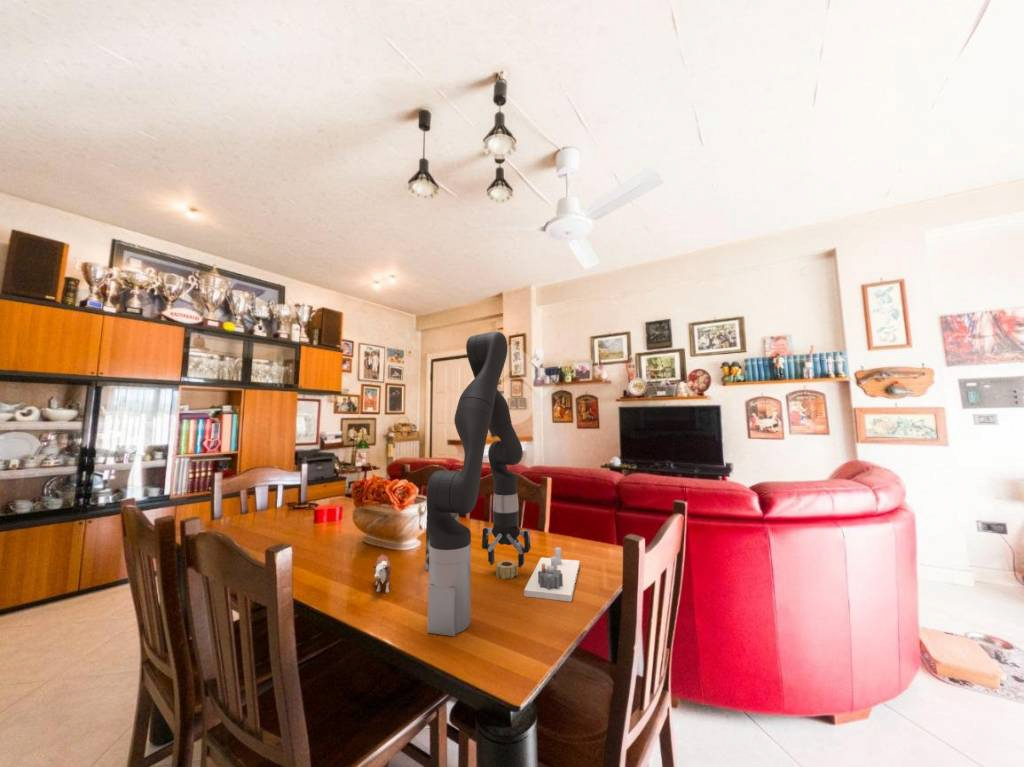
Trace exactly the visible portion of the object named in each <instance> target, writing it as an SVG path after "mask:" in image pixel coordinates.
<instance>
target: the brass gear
mask: <svg viewBox="0 0 1024 767" xmlns="http://www.w3.org/2000/svg"><path fill="white" fill-rule="evenodd" d="M517 562H518V561H512V560H511V559H507V560H500V561H499V562H495V575H496V578H501V579H502V580H506V578H507V579H511V580H512V578H513V579H514V578H515V577H518V576H517V575H519V572H518V570H519V567H518V563H517ZM514 576H515V577H514Z"/></svg>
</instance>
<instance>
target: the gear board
mask: <svg viewBox="0 0 1024 767" xmlns="http://www.w3.org/2000/svg"><path fill="white" fill-rule="evenodd" d="M580 562H581V561H580V560H575V559H563V558H562V548H561V547H558V546H557V547H555V548H554V556H551V557H542V556H541V557H540V559H539V561H538V562H537V565H536V566H535V568H534V571H533V572H532V574H531V576H530V578H529V580H528V581H527V584H526V585H525V588H523V589H524V590H523V593H524V594H523V595H524V596H523V597H527V598H529V597H530V598H537V599H544V600H554V601H563V602H570V603H571V602H572V601H573V596H574V591H575V587H576V584H577V583H576V582H577V579H578V575H577V574H579V571H578V570H580V566H579V565H580ZM575 583H576V584H575Z"/></svg>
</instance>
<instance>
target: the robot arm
mask: <svg viewBox="0 0 1024 767" xmlns="http://www.w3.org/2000/svg"><path fill="white" fill-rule="evenodd" d="M465 348H466V350H465V351H466V356H467V360H468V363H469V366H470V368H471V371H472V373H473V374H472V375H473V377H474V378H473V380H472V381H470V383H469V384H468V385H467V387H466V388H465V389H464V390H463V391H462V393H461V395H460V396H459V399H458V403H457V406H456V410H455V413H454V420H453V422H454V426H455V429H456V432H457V434H458V437H459V440H460V442H461V445H462V447H463V452H464V457H463V458H464V459H463V464H462V469H461V470H436V471H434V472H433V473H432V474H431V475H430V477H429V478H428V482H427V487H426V495H425V496H426V523H427V530H428V535H429V538H430V551H429V570H428V589H427V633H430V634H434V635H435V634H437V635H443V636H449V637H455V636H456V635H457V634H460V633H461V632H464V631H465V630H466V629H468V628H469V627H470V625H471V617H472V616H471V603H472V602H471V595H472V594H471V587H472V586H471V585H472V583H471V579H472V578H471V577H472V576H471V574H472V572H471V571H472V569H471V568H472V565H471V563H472V562H471V561H472V560H471V558H472V554H471V553H472V534H471V533H472V532H471V529H470V528H469V527H468V526H466V525H464V524H462V523H461V522H460V521H459V522H458V521H456V520H455V519H454V517H453V516H452V514H451V513H459V515H460V514H463V515H464V514H466V515H467V514H469V513H472V512H473V510H474V509H475V507H476V505H477V501H478V498H479V491H480V485H481V478H482V471H483V470H482V469H483V462H484V453H485V449H486V443H487V438H488V435H489V434H488V433H490V434H491V435H492V436H495V437H497V438H499V440H494V441H492V443H490V445H489V447H488V451H487V452H488V454H487V458H488V463H489V467H490V472H491V475H492V478H493V499H492V516H493V517H492V525H493V526H492V527H489V526H488V525H487V526H486V525H485V527H484V528H483V529H482V536H481V537H482V538H481V539H482V540H481V548H482V550H486V551H487V561H488V563H489V565H491V566H494V563H495V549H494V548H495V547H496V546H497V544H500V545H503V546H504V545H507V546H511V545H512V546H513V547H514V549H515V550H516V551H517V552H518V555H517V557H518V559H517V560H518V561H517V562H518V563H517V565H518V568H522V567H523V566H524V563H525V554H528V553H529V552H530V550H531V535H530V529H529V528H526V529H520V527H519V524H520V522H519V497H518V476H517V475H516V474H515V473H514V472H512V471H510V470H509V469H508V466H516V465H518V464H520V462H521V461H522V458H523V454H524V453H523V446H522V444H521V441H520V438H519V436H518V435H517V432H516V431H515V429H514V427H513V424H512V418H511V414H510V413H511V412H510V407H509V405H508V402H507V400H506V398H505V397H504V395H503V394H502V393H501V391H500V390H499V389H498V387H499V386H498V385H499V382H500V378H501V376H502V373H503V370H504V366H505V364H506V360H507V356H508V351H509V350H508V340H507V337H506V336H505V334H504V333H502V332H500V331H490V332H484V333H480V334H475V335H471V336H469V337H468V339H467V340H466V344H465ZM490 535H493V537H494V540H493V541H492V542H491V544H489V537H490ZM519 536H521V538H522V539H523V542H524V544H522V542H521V540H520V539H519V538H518V537H519ZM523 545H524V546H523Z"/></svg>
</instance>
